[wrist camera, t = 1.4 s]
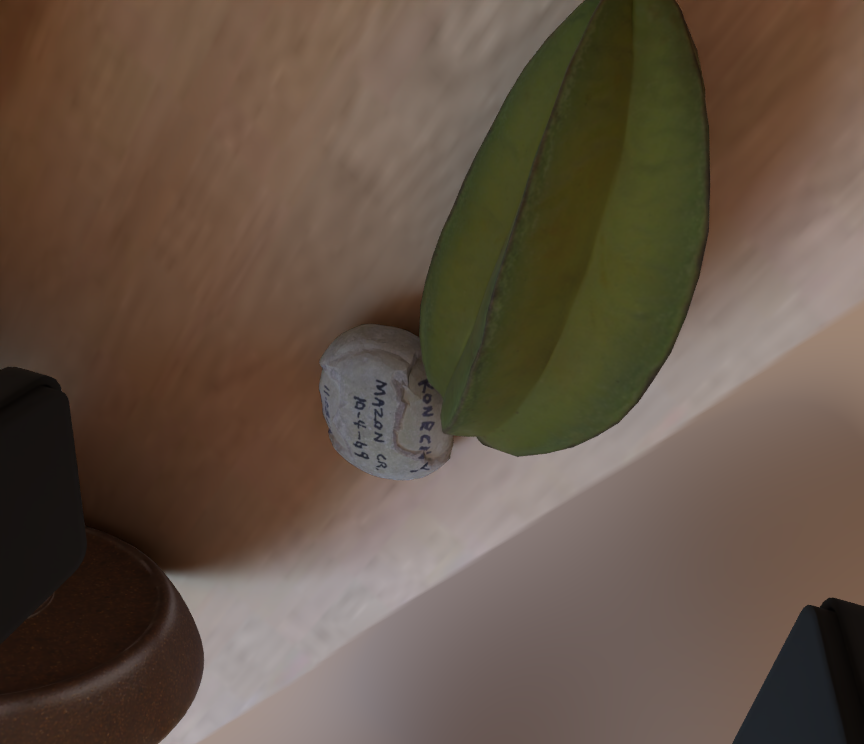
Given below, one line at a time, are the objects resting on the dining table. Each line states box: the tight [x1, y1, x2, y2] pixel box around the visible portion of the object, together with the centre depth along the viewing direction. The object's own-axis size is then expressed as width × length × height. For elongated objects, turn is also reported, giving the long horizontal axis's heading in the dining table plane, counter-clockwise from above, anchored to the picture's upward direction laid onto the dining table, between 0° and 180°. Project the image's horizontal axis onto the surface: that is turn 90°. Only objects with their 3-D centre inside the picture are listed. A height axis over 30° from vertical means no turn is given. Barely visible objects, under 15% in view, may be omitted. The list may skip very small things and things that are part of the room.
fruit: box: [419, 0, 710, 457], centre depth 22 cm, size 11×12×7 cm
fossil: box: [319, 324, 453, 480], centre depth 28 cm, size 6×3×5 cm
